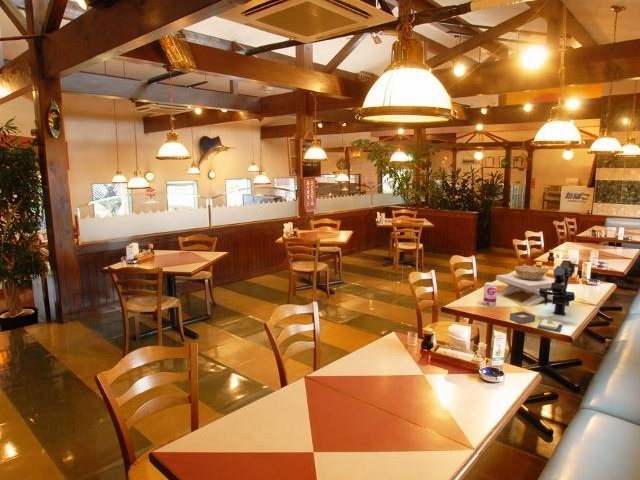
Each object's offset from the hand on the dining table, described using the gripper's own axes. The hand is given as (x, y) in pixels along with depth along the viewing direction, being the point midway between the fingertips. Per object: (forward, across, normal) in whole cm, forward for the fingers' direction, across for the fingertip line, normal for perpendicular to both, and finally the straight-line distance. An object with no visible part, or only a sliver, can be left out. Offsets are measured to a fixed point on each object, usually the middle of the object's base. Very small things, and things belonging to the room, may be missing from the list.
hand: (554, 306), depth 260 cm
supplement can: (-3, -42, +17) cm, 46 cm away
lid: (+13, 0, +1) cm, 13 cm away
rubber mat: (+13, 0, +2) cm, 13 cm away
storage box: (+12, -16, +2) cm, 20 cm away
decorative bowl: (-28, -26, +44) cm, 58 cm away
